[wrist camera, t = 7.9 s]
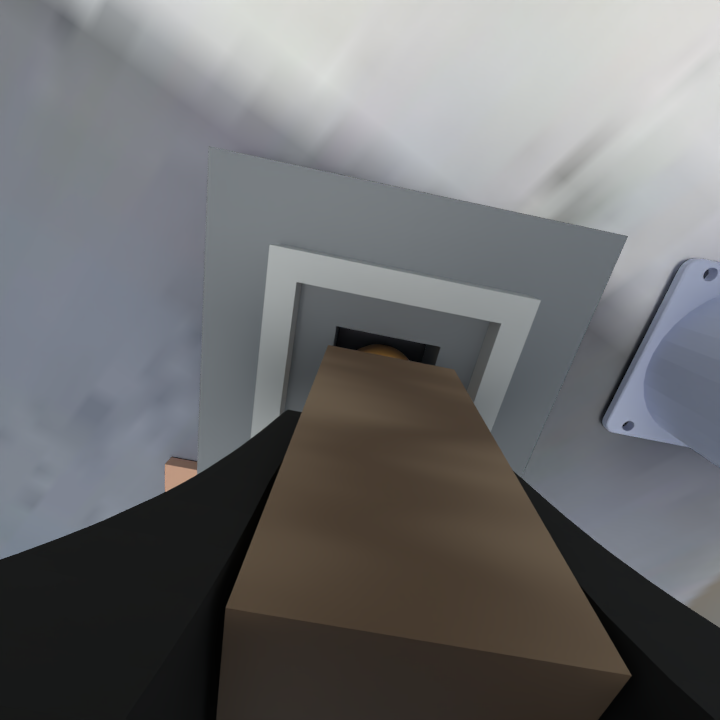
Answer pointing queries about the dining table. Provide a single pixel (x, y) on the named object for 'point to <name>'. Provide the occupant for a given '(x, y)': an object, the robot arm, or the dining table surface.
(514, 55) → the dining table surface
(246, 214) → the grey square socket base
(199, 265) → the dining table surface
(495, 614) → the brown rectangular block
